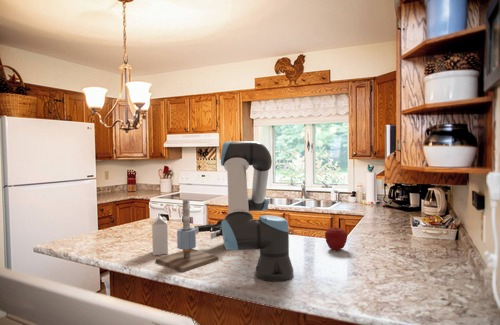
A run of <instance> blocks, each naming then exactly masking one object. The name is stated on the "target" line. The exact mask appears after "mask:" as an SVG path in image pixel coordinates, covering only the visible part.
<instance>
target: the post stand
mask: <svg viewBox="0 0 500 325" xmlns="http://www.w3.org/2000/svg"><path fill="white" fill-rule="evenodd" d="M190 213H191V212H190V199H188V198H187V199H182V228H183V231H189V230H190V228H191V222H190V220H191V217H190V216H191V215H190ZM218 260H219V256H217V255H214V254H211V253H207V252H203V251H200V250H197V249H195V248H193V249H186V250H180V251H177V252H174V253H170V254H165V255H164V256H159V257H156V258H155V263H158V264H161V265H163V266H165V267H169V268H172V269H173V270H177V271H179V272H182V273H183V272H186V271H187V272H188V271H190V270H192V269H196V268H197V267H198V268H199V267H201V266H204V265H207V264H210V263H212V262H216V261H218Z"/></svg>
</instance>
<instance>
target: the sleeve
mask: <svg viewBox="0 0 500 325" xmlns="http://www.w3.org/2000/svg"><path fill="white" fill-rule="evenodd" d="M176 236H177V238H176V242H177V243H176V244H177V245H176V247H177V249H178V250H180V251H183V250H186V249H195V248H196V247H197V234H196V228H194V227H190V230H189V231H183V227H181V228H177V230H176Z"/></svg>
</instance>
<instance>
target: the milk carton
mask: <svg viewBox="0 0 500 325" xmlns="http://www.w3.org/2000/svg"><path fill="white" fill-rule="evenodd" d="M151 228H152V229H151V231H152V232H151V234H152V256H158V255H160V256H161V255H169V248H168V247H169V246H168V245H169V242H168V236H169V235H168V234H169V233H168V231H169V230H168V219H167V217H165V216H161V214H159V216H158V217H157V218H155V219H154V220H153V221H152V225H151Z"/></svg>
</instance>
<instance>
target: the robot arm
mask: <svg viewBox="0 0 500 325" xmlns="http://www.w3.org/2000/svg"><path fill="white" fill-rule="evenodd" d="M272 161H273V159H272V155H271V153H270V150H269V149H268V148H267V147H266V146H265V144H263V143H262V142H259V141H256V140H252V141H247V140H245V141H244V140H242V141H241V140H240V141H238V140H237V141H236V140H234V141H233V140H230V141H225V142H223V144H222V146H221V155H220V166H222V167H223V168H224V170H225V171H226V172H227V174H226V176H227V205H228V206H227V207H228V208H227V209H228V213H227V214H226V215H225V217H224V218H222V219H219V220H217V222H216V223H214V224H211V223H208V224H203V225H195V226H194V227H193V228H196V235H197V234H199V233H202V232H204V233H205V232H210V240H213V239H216V238H219V237H222V238H223V239H222V240H223V241H222V242H223V245H224V248H225V249H226V250H228V251H251V250H252V251H254V250H255V251H256V250H259V257H258V261H257V264H256V267H255V276H256V277H257V278H259V279H260V280H262V281H267V282H282V281H283V282H284V281H287V280H290V279H292V278H293V277H294V268H293V265H292V262H291V261H292V260H291V259H290V258H291V257H290V249H289V248H290V246H289V245H290V243H289V242H290V240H289V239H290V237H289V232H290V228H289V222H288V220H287V219H286V218H284V217H281V216H278V215H270V214H264V215H260V216H259V217H258V219H254V215H253V214H252V213H250V212H263V211H264V212H265V211H268V209H269V200H268V197H266V195H267V194H266V193H267V186H268V178H269V171H270V170H271V168H272V163H273V162H272ZM250 166H252V168H253V177H252V188H251V189H252V190H251V197H249V195H248V181H247V180H248V178H247V170H248V169H249V167H250Z"/></svg>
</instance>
